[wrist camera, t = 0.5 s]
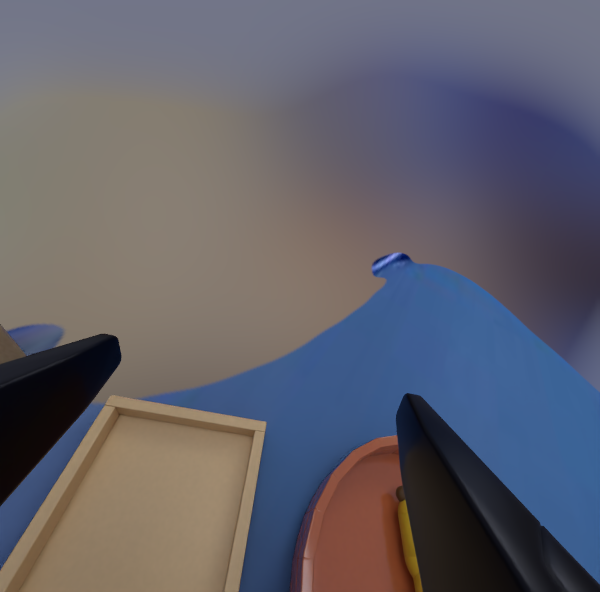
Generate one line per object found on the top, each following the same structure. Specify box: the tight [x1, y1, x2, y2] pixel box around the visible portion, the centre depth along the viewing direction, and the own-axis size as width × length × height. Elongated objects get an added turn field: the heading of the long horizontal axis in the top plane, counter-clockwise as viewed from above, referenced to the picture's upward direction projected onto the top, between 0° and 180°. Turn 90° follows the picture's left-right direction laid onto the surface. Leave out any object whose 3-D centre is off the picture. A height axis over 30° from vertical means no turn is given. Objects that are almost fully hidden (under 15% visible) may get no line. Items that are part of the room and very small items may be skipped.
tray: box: [0, 395, 266, 592], centre depth 15 cm, size 18×12×2 cm
